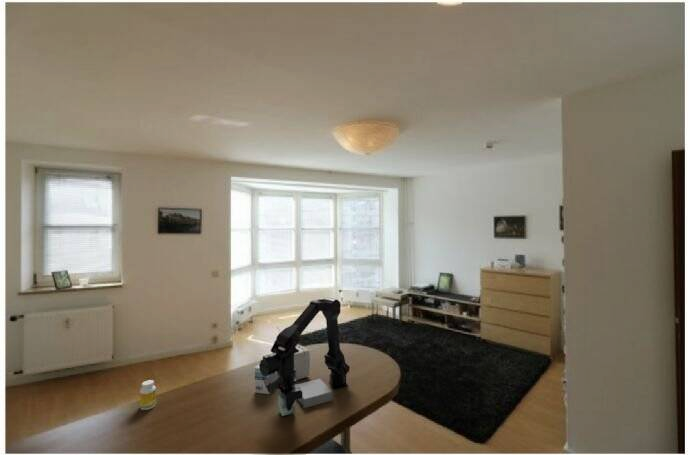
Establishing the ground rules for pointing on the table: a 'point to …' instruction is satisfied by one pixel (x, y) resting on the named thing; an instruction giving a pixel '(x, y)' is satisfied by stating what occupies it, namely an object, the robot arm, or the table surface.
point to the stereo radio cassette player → (301, 362)
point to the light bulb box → (260, 381)
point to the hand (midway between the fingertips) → (286, 406)
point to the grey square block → (314, 393)
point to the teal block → (284, 406)
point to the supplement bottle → (147, 395)
